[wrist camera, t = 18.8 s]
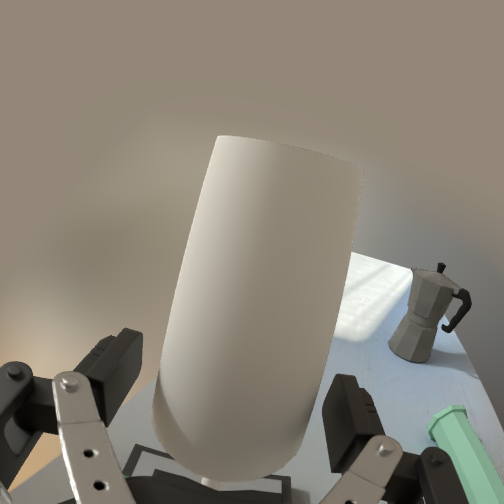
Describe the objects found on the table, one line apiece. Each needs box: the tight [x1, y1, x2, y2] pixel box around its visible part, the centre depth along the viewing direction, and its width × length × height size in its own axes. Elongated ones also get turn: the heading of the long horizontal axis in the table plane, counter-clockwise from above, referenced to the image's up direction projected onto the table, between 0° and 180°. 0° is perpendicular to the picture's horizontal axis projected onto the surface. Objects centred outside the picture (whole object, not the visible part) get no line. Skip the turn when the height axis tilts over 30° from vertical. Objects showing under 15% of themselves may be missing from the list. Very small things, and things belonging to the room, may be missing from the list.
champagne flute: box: [151, 136, 364, 491], centre depth 13 cm, size 7×7×24 cm
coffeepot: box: [388, 263, 472, 363], centre depth 51 cm, size 15×9×18 cm, turn 21°
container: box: [426, 405, 504, 504], centre depth 18 cm, size 6×6×25 cm
